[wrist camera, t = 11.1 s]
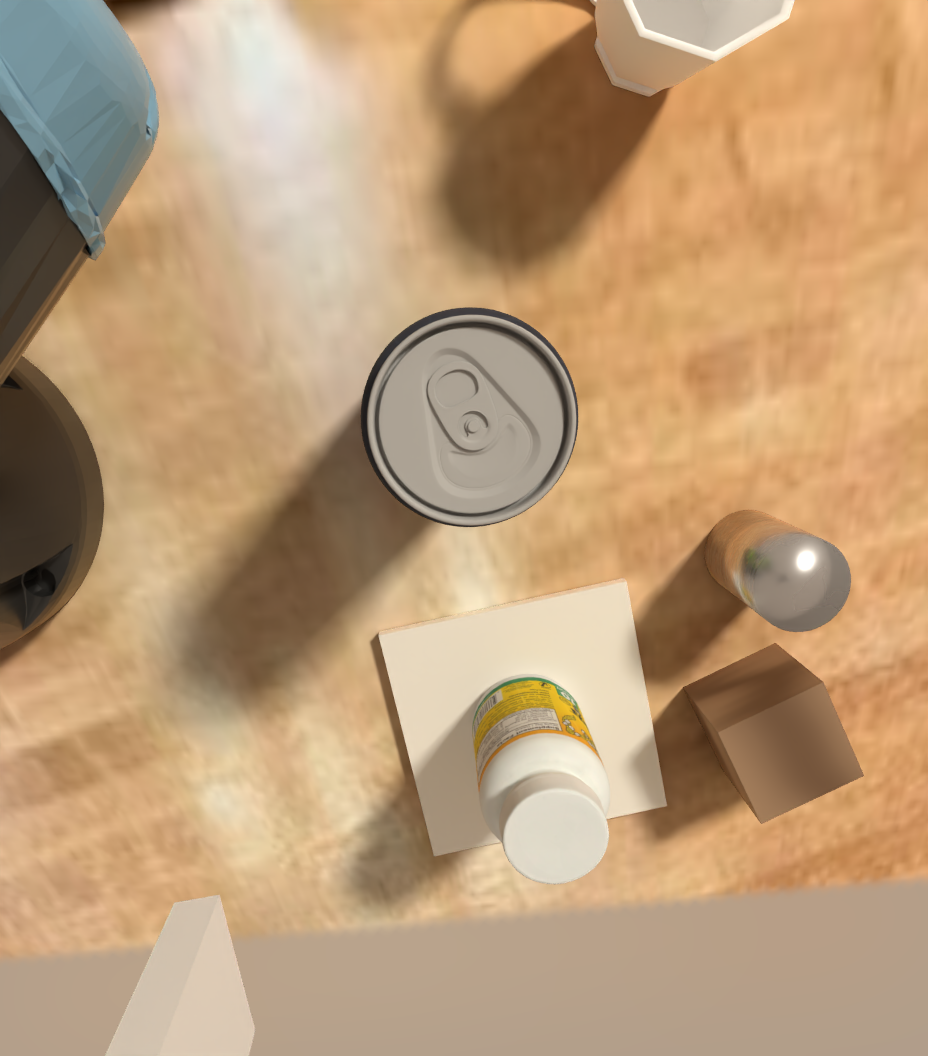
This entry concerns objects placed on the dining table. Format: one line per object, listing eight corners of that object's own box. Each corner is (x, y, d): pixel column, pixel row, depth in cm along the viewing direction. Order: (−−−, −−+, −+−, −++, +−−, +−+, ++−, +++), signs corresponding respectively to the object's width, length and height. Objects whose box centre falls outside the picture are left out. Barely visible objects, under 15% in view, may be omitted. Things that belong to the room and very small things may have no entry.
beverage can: (364, 364, 36) (316, 366, 21) (490, 304, 36) (530, 263, 21) (424, 489, 37) (418, 571, 22) (546, 431, 37) (621, 477, 22)
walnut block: (721, 768, 41) (761, 824, 36) (682, 686, 40) (717, 732, 35) (811, 725, 40) (863, 775, 36) (774, 642, 39) (823, 682, 35)
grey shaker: (711, 598, 39) (760, 641, 33) (698, 519, 38) (747, 548, 32) (792, 581, 39) (856, 620, 33) (781, 501, 38) (844, 527, 32)
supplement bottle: (462, 681, 38) (471, 784, 29) (572, 661, 38) (617, 758, 29) (481, 781, 40) (496, 912, 30) (588, 762, 40) (636, 887, 30)
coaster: (434, 849, 41) (434, 856, 40) (379, 631, 38) (378, 635, 38) (663, 799, 41) (667, 805, 40) (623, 578, 38) (626, 581, 38)
